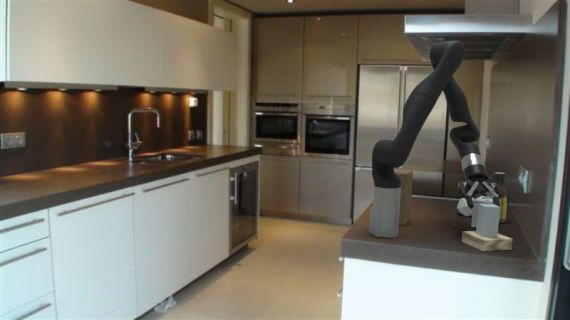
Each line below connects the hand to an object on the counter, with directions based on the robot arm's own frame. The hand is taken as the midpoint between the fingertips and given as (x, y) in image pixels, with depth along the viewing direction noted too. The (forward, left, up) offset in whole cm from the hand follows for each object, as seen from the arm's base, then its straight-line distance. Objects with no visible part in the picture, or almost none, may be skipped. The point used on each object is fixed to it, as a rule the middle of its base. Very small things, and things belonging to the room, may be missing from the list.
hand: (484, 208), depth 165 cm
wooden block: (-16, +32, -12) cm, 38 cm away
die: (+21, +37, -12) cm, 44 cm away
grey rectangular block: (-1, -3, -8) cm, 9 cm away
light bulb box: (+16, +20, -12) cm, 28 cm away
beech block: (-1, -3, -12) cm, 12 cm away
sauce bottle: (+26, +25, -12) cm, 38 cm away
